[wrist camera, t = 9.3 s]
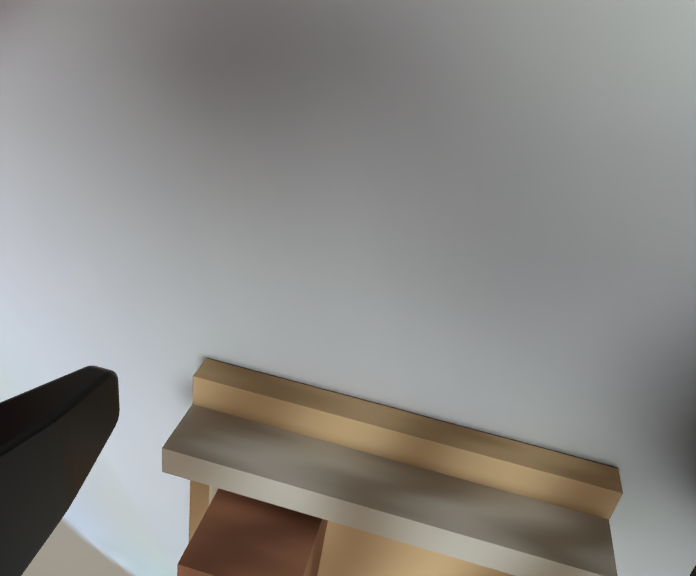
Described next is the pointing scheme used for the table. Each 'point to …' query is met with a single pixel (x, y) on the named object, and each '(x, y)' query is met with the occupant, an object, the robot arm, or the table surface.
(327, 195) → the table surface
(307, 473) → the board
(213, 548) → the brown block with peg
